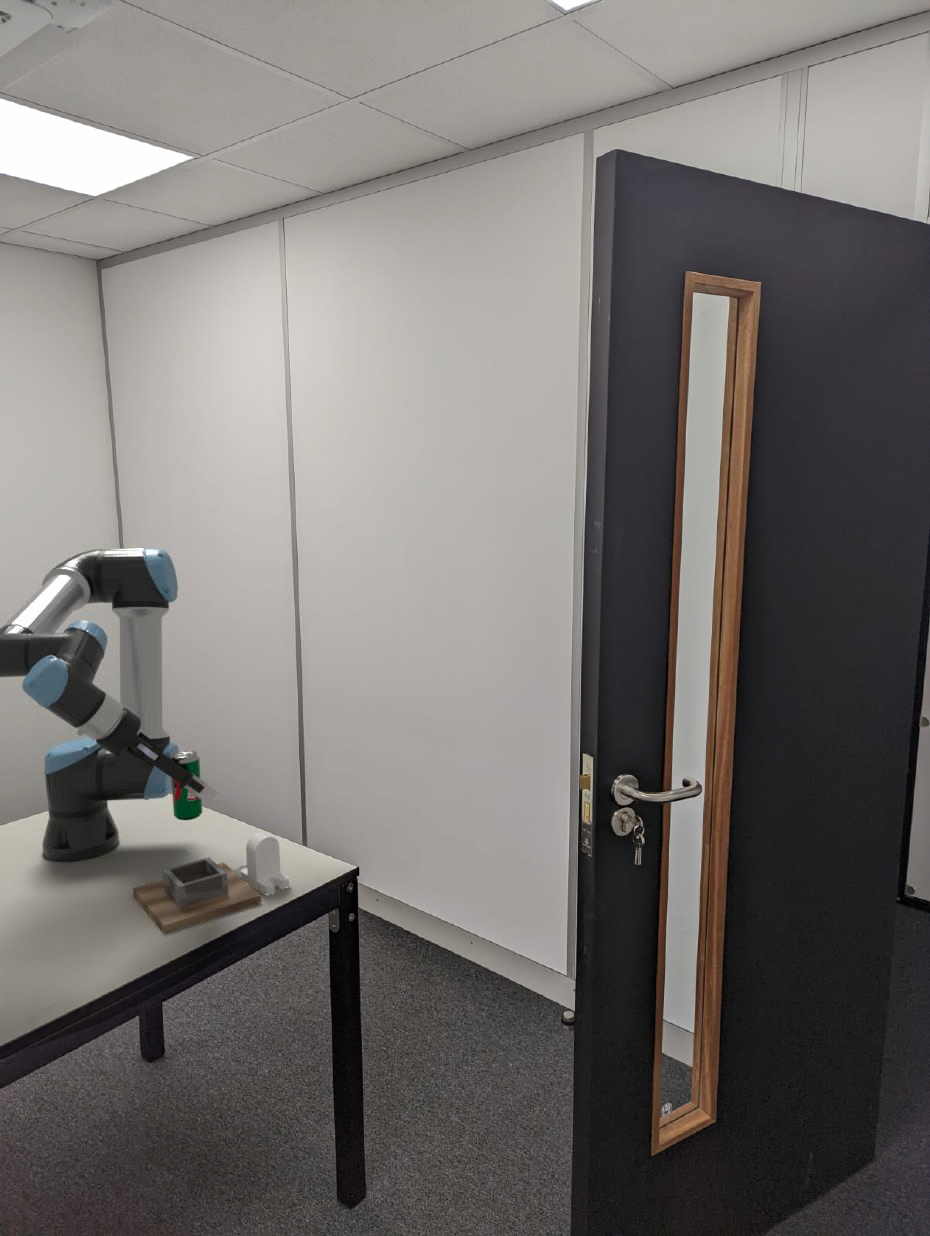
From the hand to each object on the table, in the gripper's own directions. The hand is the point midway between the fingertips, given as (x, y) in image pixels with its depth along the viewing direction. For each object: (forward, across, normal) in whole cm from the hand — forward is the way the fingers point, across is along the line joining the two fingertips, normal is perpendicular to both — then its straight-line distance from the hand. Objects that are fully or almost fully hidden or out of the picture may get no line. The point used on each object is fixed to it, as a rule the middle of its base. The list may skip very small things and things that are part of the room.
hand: (207, 793), depth 162 cm
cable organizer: (+21, +2, -8) cm, 23 cm away
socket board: (+12, 0, -17) cm, 21 cm away
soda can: (0, 0, -5) cm, 5 cm away
